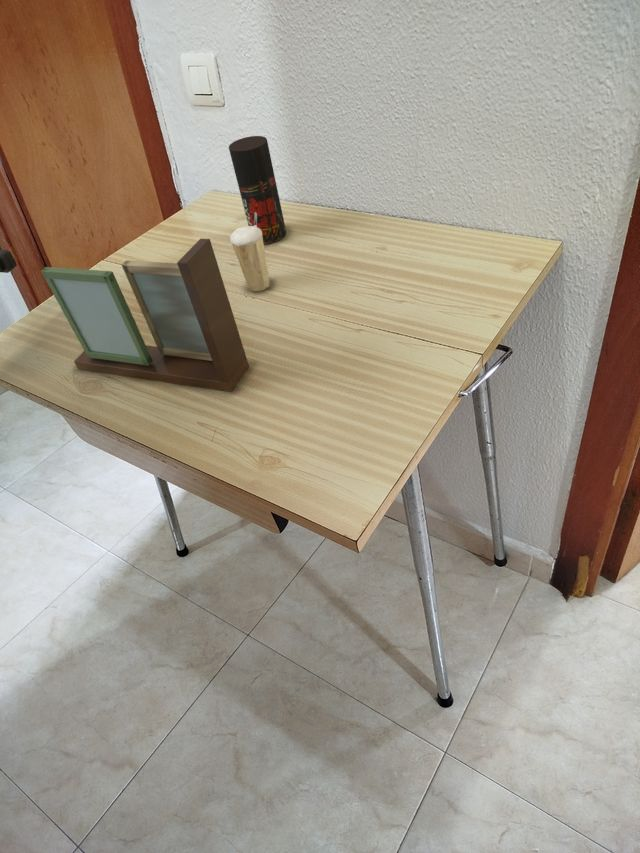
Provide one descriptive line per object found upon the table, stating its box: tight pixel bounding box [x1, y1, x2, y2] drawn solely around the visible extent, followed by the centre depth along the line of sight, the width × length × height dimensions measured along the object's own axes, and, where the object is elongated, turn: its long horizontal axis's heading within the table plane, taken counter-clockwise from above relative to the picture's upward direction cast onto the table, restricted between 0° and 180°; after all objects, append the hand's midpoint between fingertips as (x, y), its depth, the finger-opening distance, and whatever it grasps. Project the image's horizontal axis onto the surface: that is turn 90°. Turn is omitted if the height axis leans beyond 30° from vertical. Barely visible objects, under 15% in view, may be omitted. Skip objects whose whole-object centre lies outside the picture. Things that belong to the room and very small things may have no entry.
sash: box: [40, 266, 153, 366], centre depth 72 cm, size 10×1×13 cm, turn 68°
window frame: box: [73, 238, 250, 393], centre depth 71 cm, size 24×5×17 cm, turn 68°
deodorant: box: [228, 135, 287, 245], centre depth 94 cm, size 6×6×15 cm
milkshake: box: [229, 213, 270, 293], centre depth 85 cm, size 4×5×10 cm
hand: (9, 261), depth 71 cm, fingers closed
